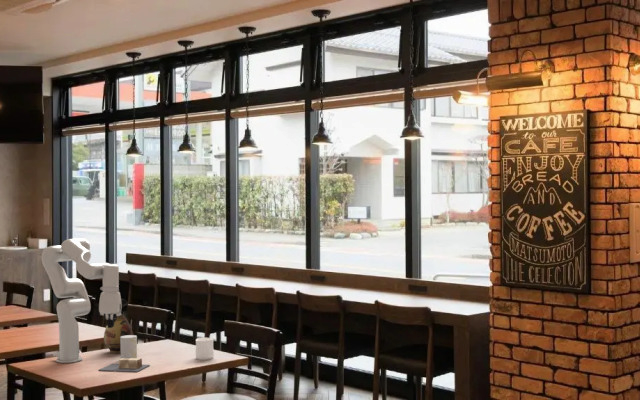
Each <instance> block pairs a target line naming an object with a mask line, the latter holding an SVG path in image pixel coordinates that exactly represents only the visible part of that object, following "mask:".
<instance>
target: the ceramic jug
mask: <svg viewBox="0 0 640 400" xmlns="http://www.w3.org/2000/svg"><path fill="white" fill-rule="evenodd" d="M121 304H122V308H123V307H125V306H126V305H128V304H129V303H128V301H127V300H126V299H125V298H121ZM116 314H117V313H116ZM110 315H111V314H110ZM126 335H134V333H133V329H132V326H131V324H130V323H129V321H128V320H127V318H126V317H125V315H123V313H122V312H121V315H120V316H117V317H116V318H115V319H114V327H112V328H108V326H107V325H106V326H105V330H104V333H103V342H104V345H105V346H106V347H107V349H108V350H109V352H110V354H111V353H114V354H115V353H117V354H121V344H120V337H121V336H126Z"/></svg>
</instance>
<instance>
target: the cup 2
mask: <svg viewBox="0 0 640 400" xmlns="http://www.w3.org/2000/svg"><path fill="white" fill-rule="evenodd" d="M214 352H215V351H214V338H212V337H198V338H196V339H195V359H196V360H199V361H205V360H206V361H207V360H212V359H213V358H214V354H215V353H214Z"/></svg>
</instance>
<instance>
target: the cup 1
mask: <svg viewBox="0 0 640 400" xmlns="http://www.w3.org/2000/svg"><path fill="white" fill-rule="evenodd" d="M120 344H121V353H120V359H121V358H138V336H137V335H134V334H133V335H126V336H121V337H120Z"/></svg>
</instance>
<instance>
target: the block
mask: <svg viewBox="0 0 640 400" xmlns="http://www.w3.org/2000/svg"><path fill="white" fill-rule="evenodd" d="M118 364H119V368H137V369H139V368H141V367H142V365H143V358H138V357H137V358H121V357H120V358H119V359H118Z"/></svg>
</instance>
